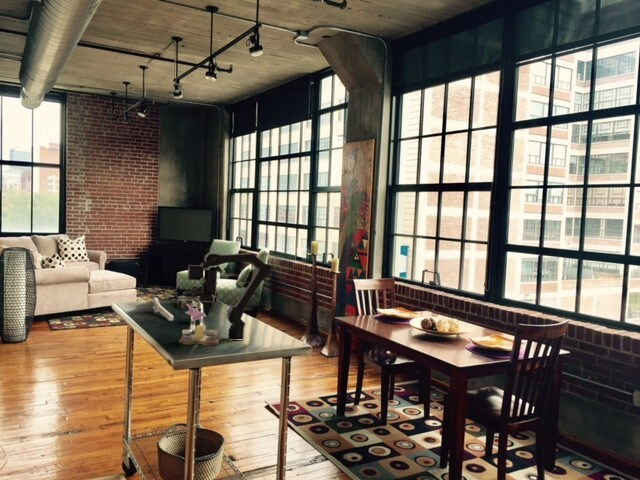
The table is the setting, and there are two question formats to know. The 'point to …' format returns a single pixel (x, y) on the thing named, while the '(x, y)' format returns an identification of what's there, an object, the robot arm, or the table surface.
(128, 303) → the table surface
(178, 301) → the book
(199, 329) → the yellow knobbed block
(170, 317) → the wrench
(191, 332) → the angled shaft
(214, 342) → the base plate
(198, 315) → the lily
